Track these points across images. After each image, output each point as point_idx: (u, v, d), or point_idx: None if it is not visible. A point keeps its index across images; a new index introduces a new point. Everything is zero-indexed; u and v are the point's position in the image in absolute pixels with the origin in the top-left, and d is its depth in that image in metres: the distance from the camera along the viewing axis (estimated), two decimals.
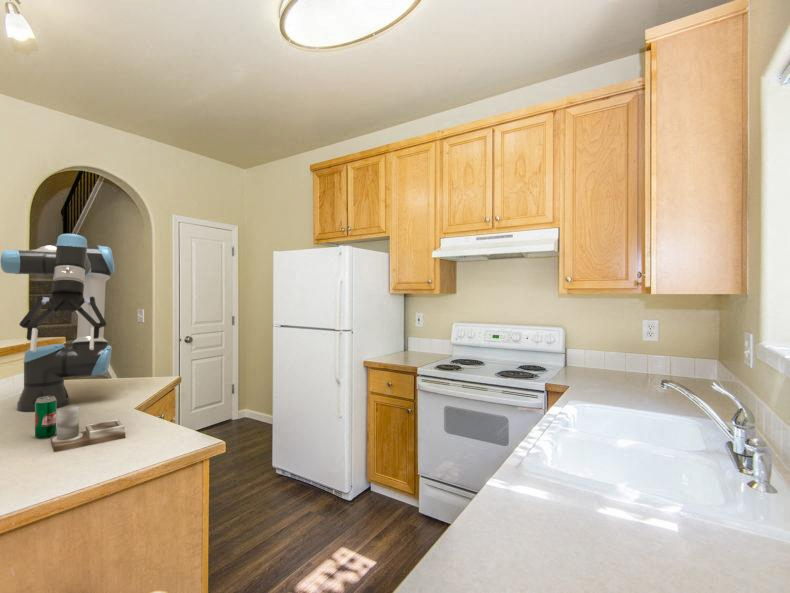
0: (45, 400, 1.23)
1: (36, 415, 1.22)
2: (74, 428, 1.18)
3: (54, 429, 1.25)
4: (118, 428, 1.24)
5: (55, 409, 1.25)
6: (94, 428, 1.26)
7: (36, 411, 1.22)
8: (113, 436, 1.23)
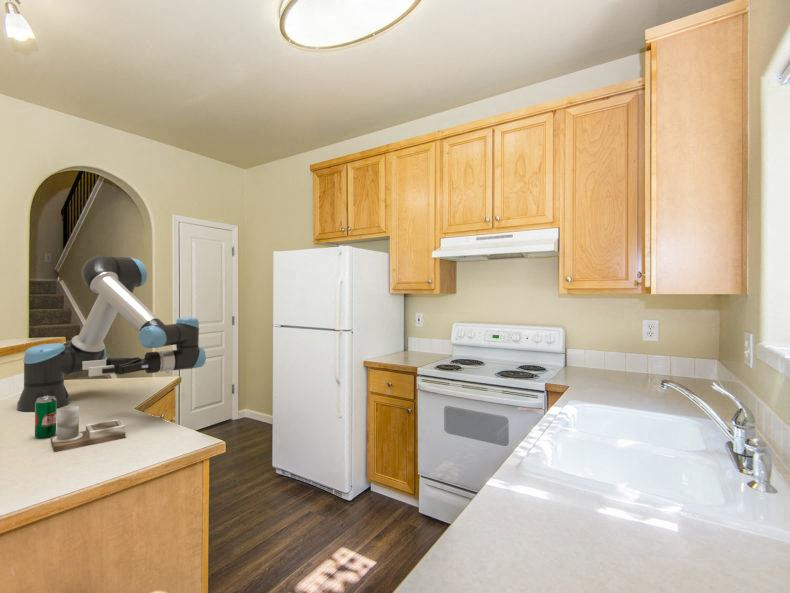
0: (45, 400, 1.23)
1: (36, 415, 1.22)
2: (74, 428, 1.18)
3: (54, 429, 1.25)
4: (118, 428, 1.24)
5: (55, 409, 1.25)
6: (94, 428, 1.26)
7: (36, 411, 1.22)
8: (113, 436, 1.23)
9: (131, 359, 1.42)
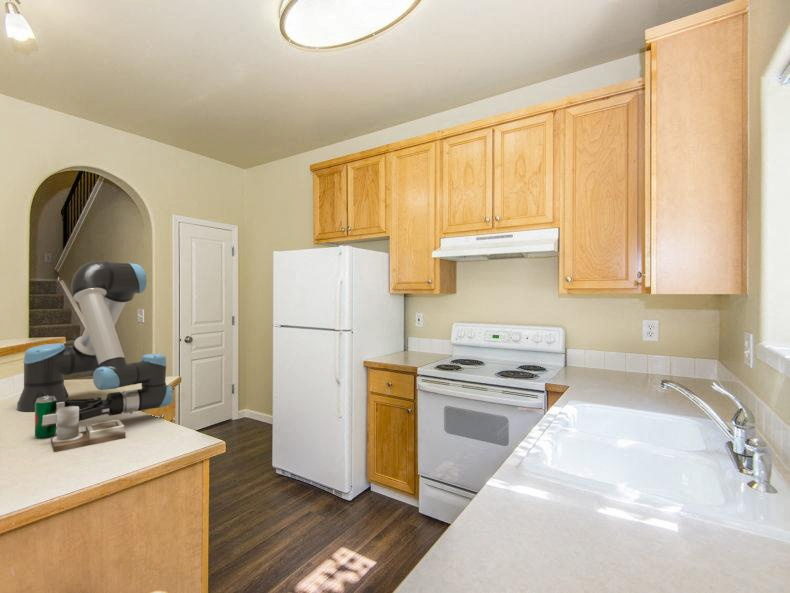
0: (45, 400, 1.23)
1: (36, 415, 1.22)
2: (74, 428, 1.18)
3: (54, 429, 1.25)
4: (118, 428, 1.24)
5: (55, 409, 1.25)
6: (94, 428, 1.26)
7: (36, 411, 1.22)
8: (113, 436, 1.23)
9: (92, 401, 1.34)
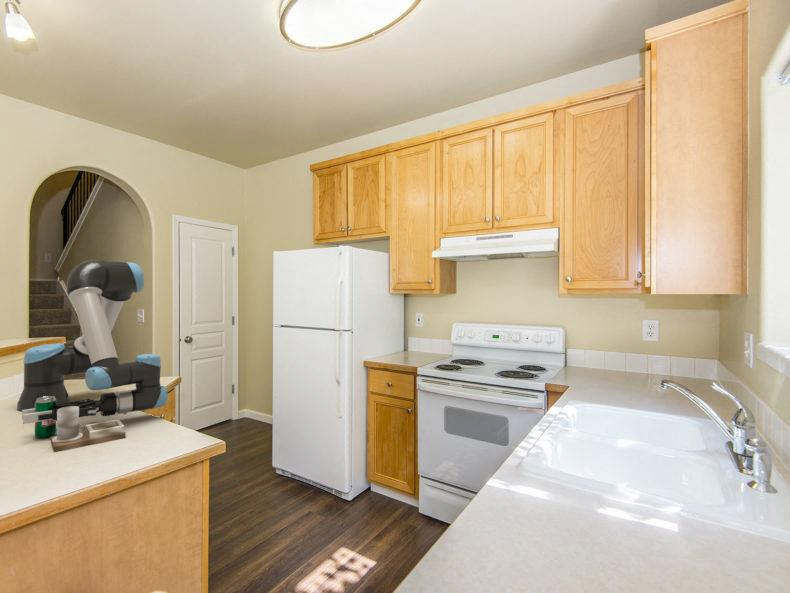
0: (45, 400, 1.23)
1: None
2: (74, 428, 1.18)
3: (54, 429, 1.25)
4: (118, 428, 1.24)
5: None
6: (94, 428, 1.26)
7: (36, 411, 1.22)
8: (113, 436, 1.23)
9: (84, 402, 1.32)
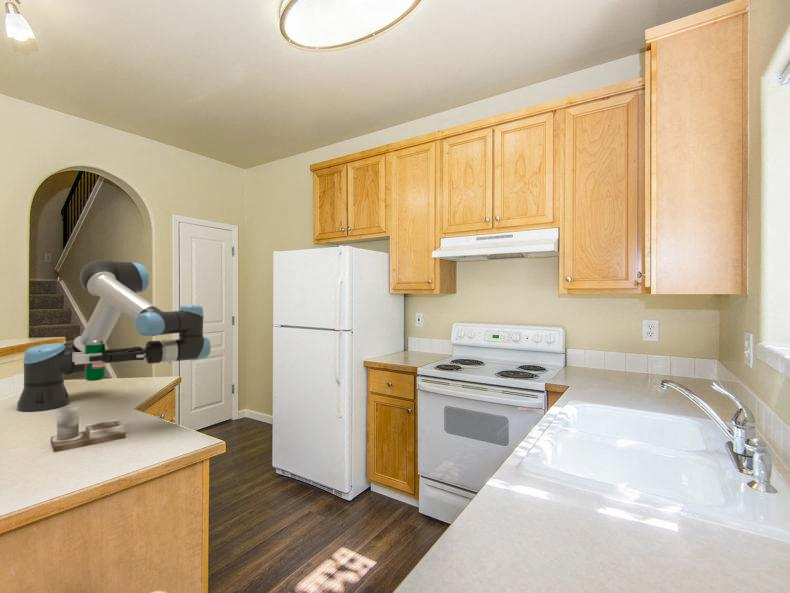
0: (95, 342, 1.23)
1: None
2: (74, 428, 1.18)
3: (103, 372, 1.25)
4: (118, 428, 1.24)
5: None
6: (94, 428, 1.26)
7: (86, 353, 1.22)
8: (113, 436, 1.23)
9: (131, 349, 1.32)
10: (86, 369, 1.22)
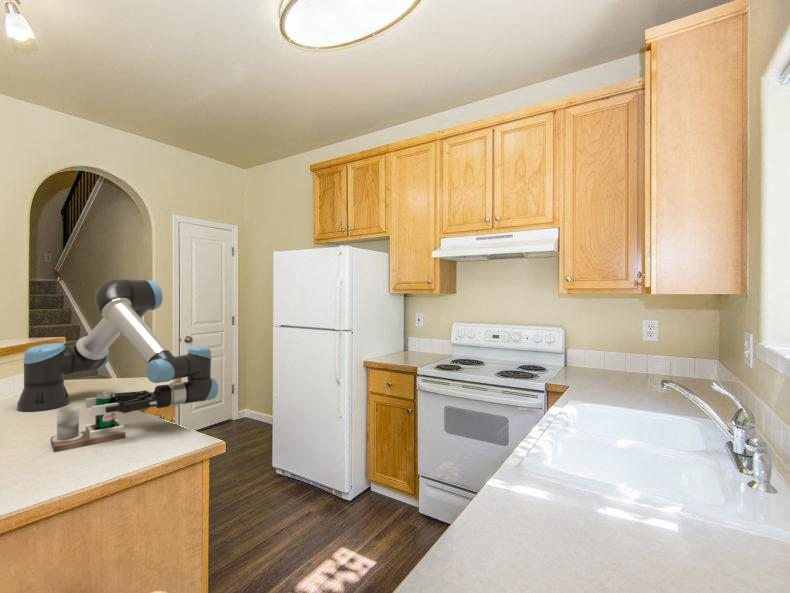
0: (105, 396, 1.24)
1: None
2: (74, 428, 1.18)
3: (113, 425, 1.26)
4: (118, 428, 1.24)
5: None
6: (94, 428, 1.26)
7: None
8: (113, 436, 1.23)
9: (140, 394, 1.33)
10: (96, 423, 1.23)
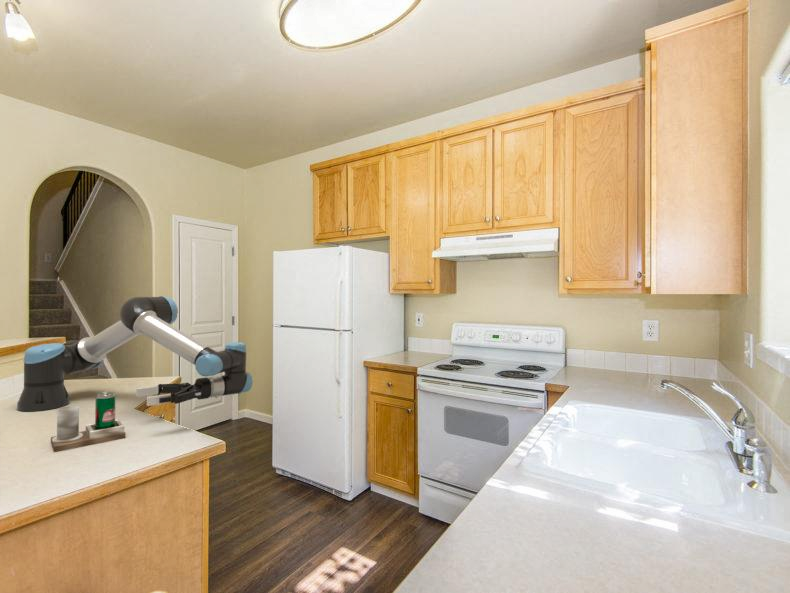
0: (105, 396, 1.24)
1: (97, 411, 1.23)
2: (74, 428, 1.18)
3: (113, 425, 1.26)
4: (118, 428, 1.24)
5: (114, 405, 1.26)
6: (94, 428, 1.26)
7: (97, 407, 1.23)
8: (113, 436, 1.23)
9: (183, 385, 1.43)
10: (96, 423, 1.23)
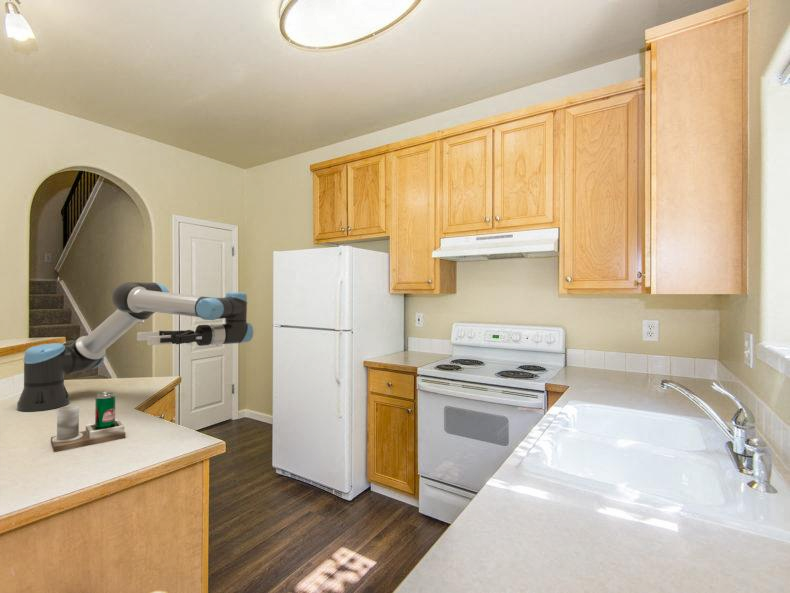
0: (105, 396, 1.24)
1: (97, 411, 1.23)
2: (74, 428, 1.18)
3: (113, 425, 1.26)
4: (118, 428, 1.24)
5: (114, 405, 1.26)
6: (94, 428, 1.26)
7: (97, 407, 1.23)
8: (113, 436, 1.23)
9: (183, 331, 1.42)
10: (96, 423, 1.23)
